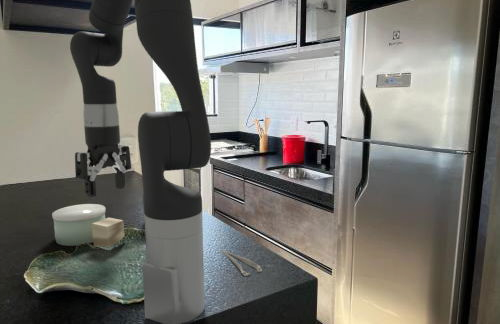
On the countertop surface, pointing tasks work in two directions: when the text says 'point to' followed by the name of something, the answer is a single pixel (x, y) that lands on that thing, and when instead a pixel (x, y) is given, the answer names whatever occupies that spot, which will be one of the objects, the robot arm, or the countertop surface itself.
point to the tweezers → (242, 261)
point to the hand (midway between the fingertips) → (106, 192)
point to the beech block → (107, 232)
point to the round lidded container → (76, 223)
